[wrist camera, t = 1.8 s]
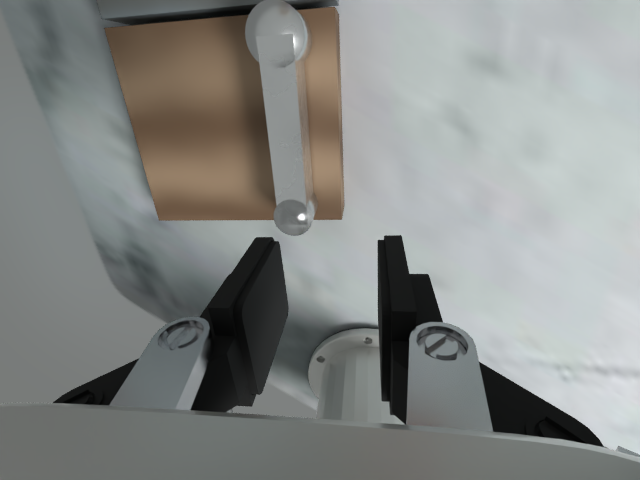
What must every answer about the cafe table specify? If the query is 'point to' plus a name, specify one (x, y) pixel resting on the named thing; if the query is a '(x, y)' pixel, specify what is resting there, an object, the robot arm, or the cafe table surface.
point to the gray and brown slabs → (220, 106)
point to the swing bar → (285, 108)
